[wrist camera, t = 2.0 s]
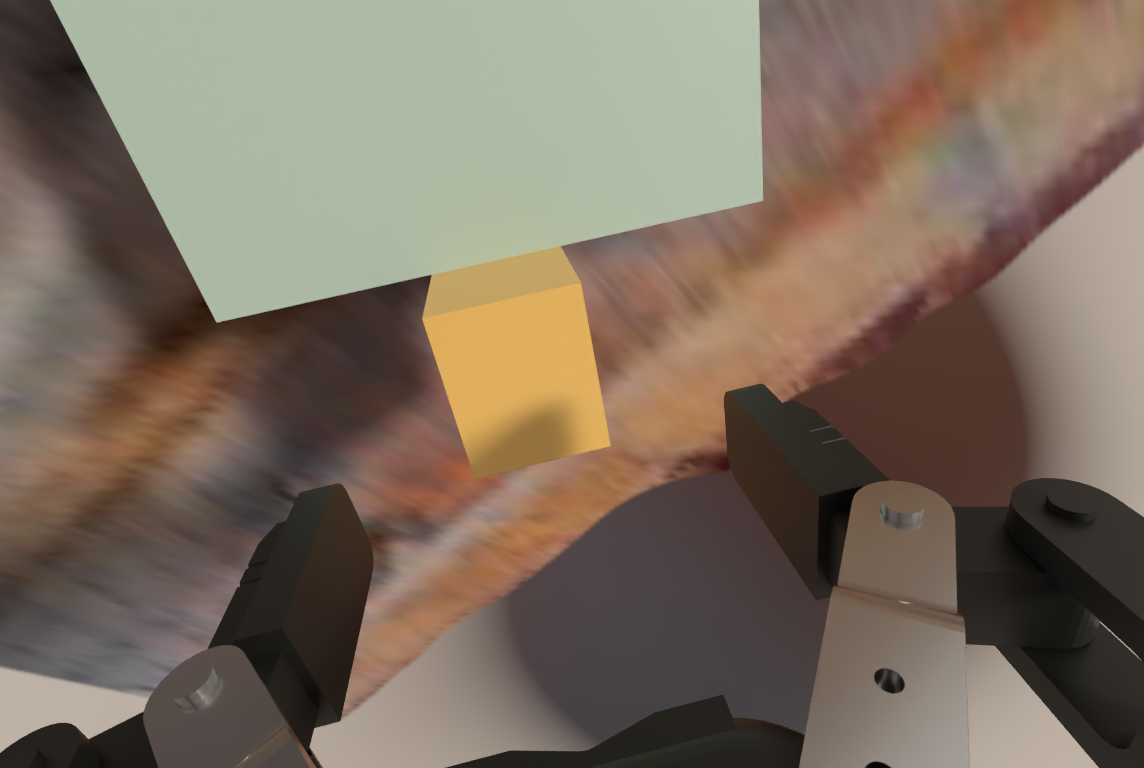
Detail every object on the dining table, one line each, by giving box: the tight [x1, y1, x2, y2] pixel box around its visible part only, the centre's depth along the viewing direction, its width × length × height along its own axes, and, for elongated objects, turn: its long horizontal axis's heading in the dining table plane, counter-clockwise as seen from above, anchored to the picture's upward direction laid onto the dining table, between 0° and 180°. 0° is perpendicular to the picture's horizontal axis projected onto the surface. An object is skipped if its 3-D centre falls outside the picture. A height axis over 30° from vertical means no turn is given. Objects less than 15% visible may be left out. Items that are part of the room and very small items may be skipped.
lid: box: [50, 0, 763, 479], centre depth 15 cm, size 17×18×6 cm
